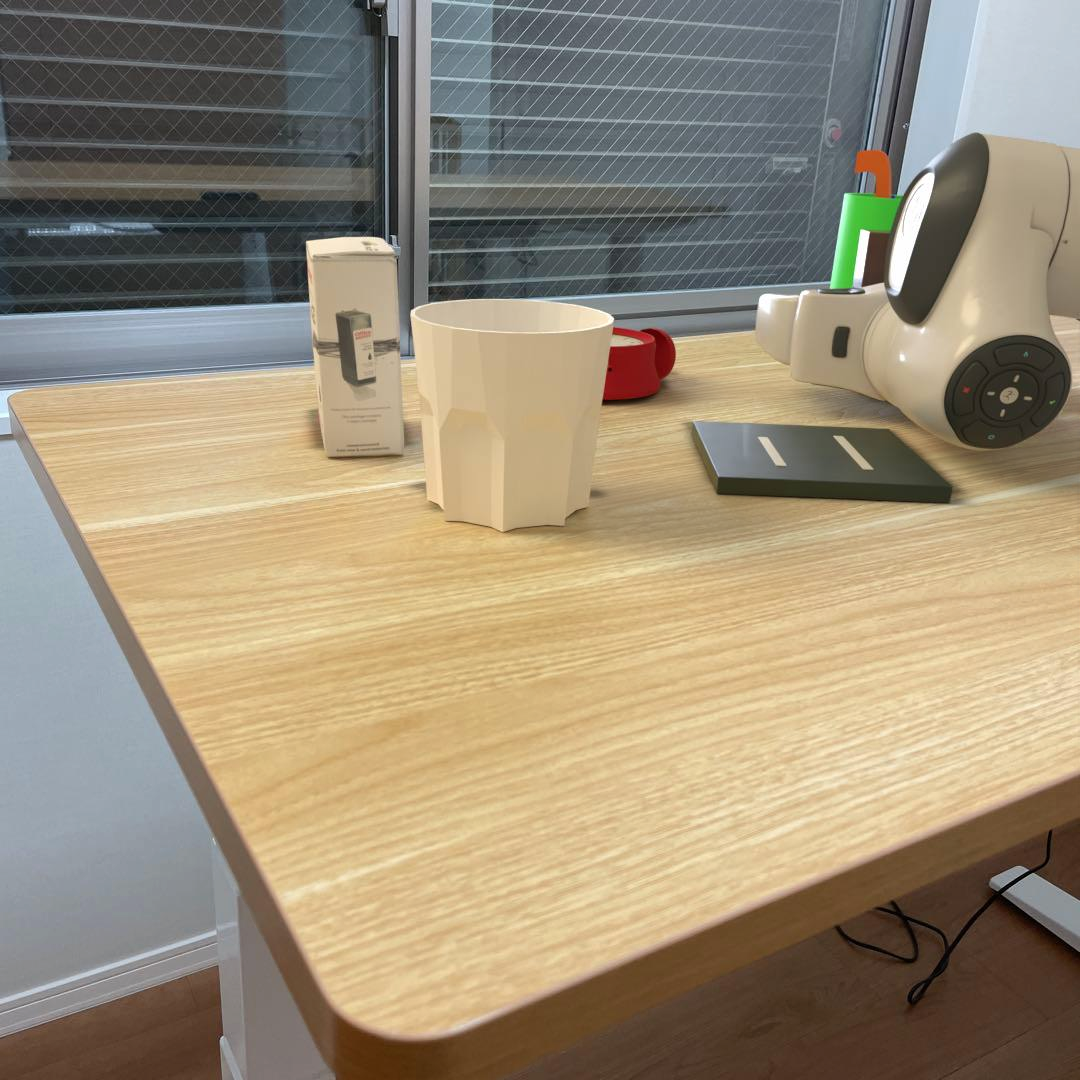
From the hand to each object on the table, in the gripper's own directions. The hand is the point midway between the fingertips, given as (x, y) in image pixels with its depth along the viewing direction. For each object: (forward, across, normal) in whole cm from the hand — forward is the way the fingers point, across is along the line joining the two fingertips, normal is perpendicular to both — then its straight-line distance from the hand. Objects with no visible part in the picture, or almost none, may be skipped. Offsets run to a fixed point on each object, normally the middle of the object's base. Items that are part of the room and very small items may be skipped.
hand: (865, 311), depth 86 cm
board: (-27, +10, +6) cm, 29 cm away
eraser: (-1, 0, +6) cm, 6 cm away
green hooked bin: (+12, -4, +6) cm, 14 cm away
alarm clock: (-7, +22, +6) cm, 24 cm away
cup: (-36, +28, +6) cm, 46 cm away
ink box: (-25, +38, +6) cm, 46 cm away
